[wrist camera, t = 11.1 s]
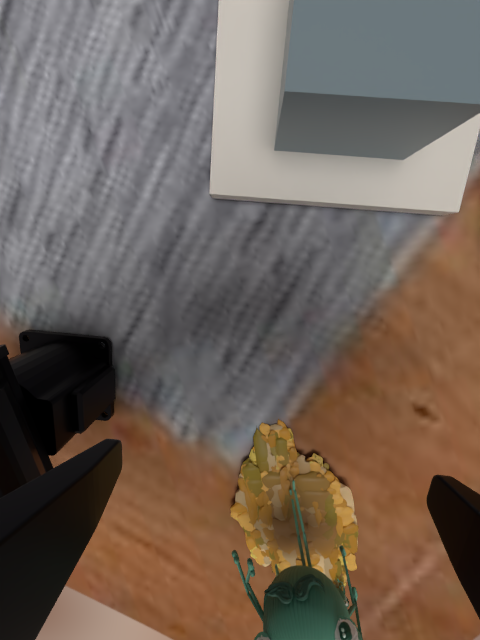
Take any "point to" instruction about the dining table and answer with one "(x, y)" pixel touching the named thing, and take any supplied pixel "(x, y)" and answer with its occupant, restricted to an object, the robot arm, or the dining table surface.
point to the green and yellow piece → (297, 540)
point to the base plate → (309, 168)
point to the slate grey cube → (377, 75)
